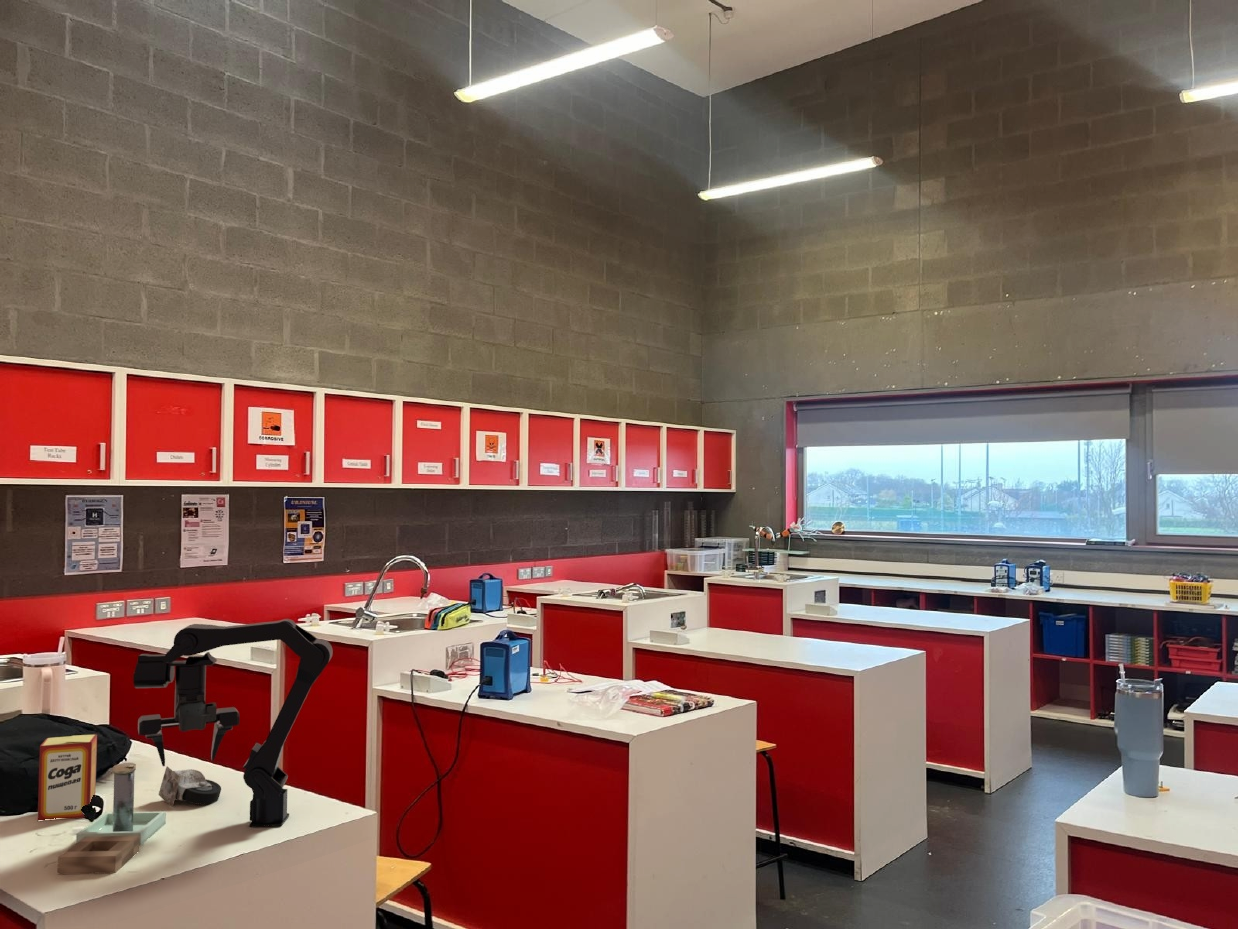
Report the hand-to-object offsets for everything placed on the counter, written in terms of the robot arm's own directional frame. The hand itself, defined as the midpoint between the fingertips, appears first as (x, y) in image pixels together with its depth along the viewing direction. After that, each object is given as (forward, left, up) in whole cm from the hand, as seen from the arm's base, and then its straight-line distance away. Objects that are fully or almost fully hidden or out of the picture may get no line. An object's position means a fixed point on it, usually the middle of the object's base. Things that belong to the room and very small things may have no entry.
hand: (188, 763), depth 191 cm
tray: (+11, +4, -13) cm, 17 cm away
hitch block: (+9, +18, -13) cm, 24 cm away
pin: (+11, +4, -12) cm, 17 cm away
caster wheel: (+5, -17, -13) cm, 22 cm away
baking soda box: (+28, -9, -13) cm, 32 cm away
